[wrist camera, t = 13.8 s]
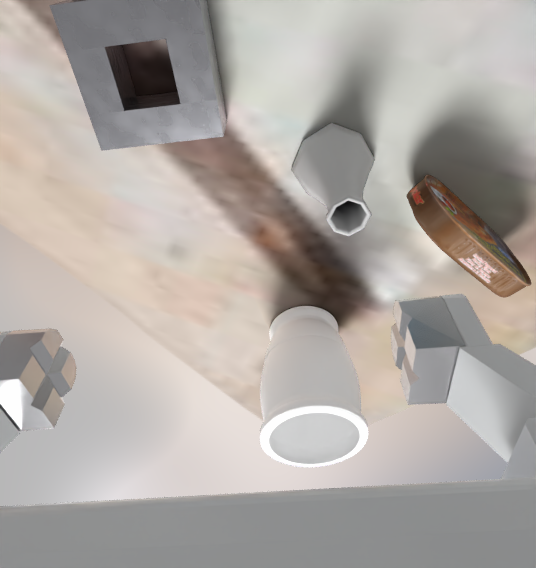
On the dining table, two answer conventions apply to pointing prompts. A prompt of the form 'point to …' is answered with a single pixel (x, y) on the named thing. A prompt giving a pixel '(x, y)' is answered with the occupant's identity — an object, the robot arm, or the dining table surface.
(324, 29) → the dining table surface
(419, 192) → the tin
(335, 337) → the jar
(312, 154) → the flask
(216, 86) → the metal block with hole
